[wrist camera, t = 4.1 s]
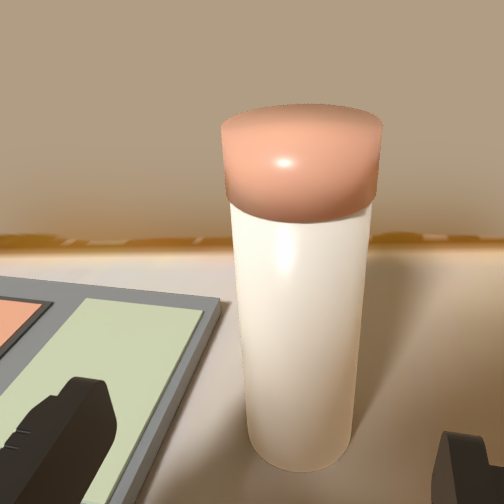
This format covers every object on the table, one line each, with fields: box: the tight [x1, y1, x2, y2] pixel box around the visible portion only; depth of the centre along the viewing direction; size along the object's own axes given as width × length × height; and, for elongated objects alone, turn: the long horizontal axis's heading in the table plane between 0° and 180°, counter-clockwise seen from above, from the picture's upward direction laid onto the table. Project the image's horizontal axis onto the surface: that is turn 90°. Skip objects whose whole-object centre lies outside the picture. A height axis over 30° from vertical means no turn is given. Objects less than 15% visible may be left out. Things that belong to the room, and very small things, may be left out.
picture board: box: [0, 276, 221, 504], centre depth 23 cm, size 18×14×1 cm
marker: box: [221, 104, 383, 473], centre depth 17 cm, size 5×5×13 cm
